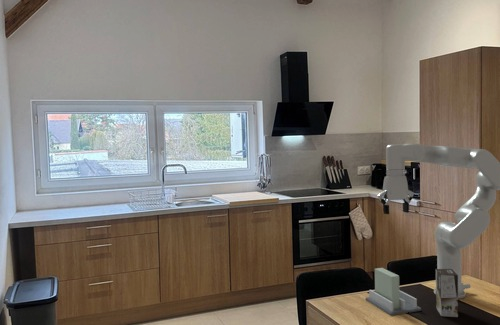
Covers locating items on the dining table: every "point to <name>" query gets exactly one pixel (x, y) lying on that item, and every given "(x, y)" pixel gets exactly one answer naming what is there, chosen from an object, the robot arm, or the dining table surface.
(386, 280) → the upright sage green tile
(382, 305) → the dish rack
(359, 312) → the dining table surface
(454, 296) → the coffee box
